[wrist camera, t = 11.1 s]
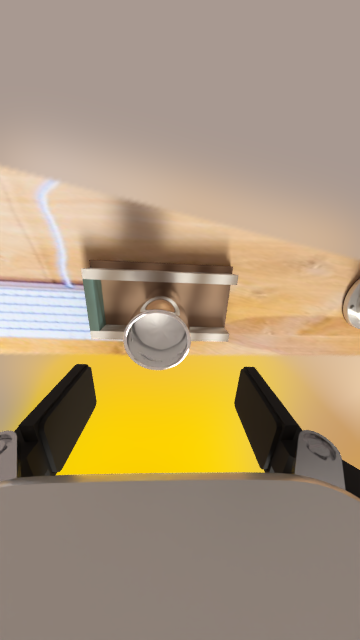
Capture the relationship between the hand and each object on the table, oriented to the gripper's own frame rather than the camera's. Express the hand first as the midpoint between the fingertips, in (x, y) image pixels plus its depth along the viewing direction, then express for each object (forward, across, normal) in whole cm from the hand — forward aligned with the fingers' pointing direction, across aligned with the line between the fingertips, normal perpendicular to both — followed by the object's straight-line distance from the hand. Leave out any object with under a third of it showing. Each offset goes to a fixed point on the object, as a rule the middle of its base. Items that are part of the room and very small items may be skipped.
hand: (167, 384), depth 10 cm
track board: (+22, +2, 0) cm, 22 cm away
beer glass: (+21, +1, 0) cm, 21 cm away
